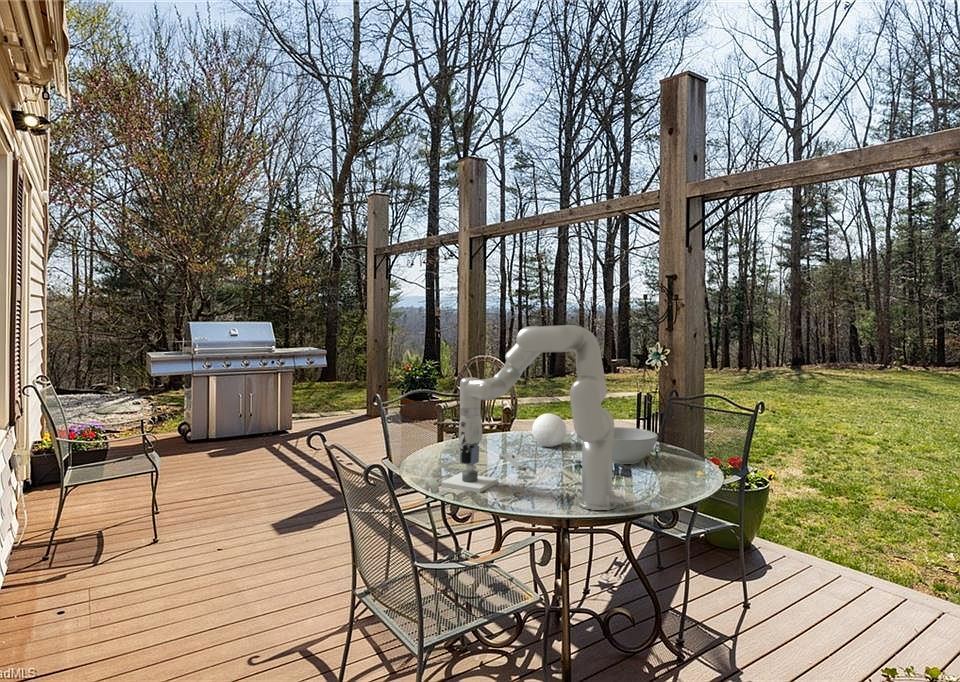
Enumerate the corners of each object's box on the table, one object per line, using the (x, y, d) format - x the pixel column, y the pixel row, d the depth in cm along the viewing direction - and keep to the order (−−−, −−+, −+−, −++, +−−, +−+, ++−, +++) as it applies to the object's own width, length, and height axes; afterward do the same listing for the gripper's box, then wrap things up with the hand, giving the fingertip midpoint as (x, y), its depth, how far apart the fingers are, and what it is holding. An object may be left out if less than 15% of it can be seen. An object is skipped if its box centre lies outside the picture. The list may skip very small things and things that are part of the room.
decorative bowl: (580, 460, 234) (580, 432, 234) (616, 450, 252) (616, 424, 252) (634, 473, 214) (634, 442, 214) (669, 461, 232) (670, 433, 232)
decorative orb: (530, 450, 251) (531, 416, 251) (524, 442, 269) (524, 410, 268) (573, 450, 253) (573, 416, 252) (564, 441, 270) (564, 409, 270)
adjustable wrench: (525, 471, 218) (525, 467, 218) (509, 472, 217) (509, 467, 217) (511, 455, 243) (511, 451, 243) (497, 456, 242) (497, 452, 242)
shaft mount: (498, 482, 201) (498, 456, 201) (479, 492, 189) (479, 465, 188) (460, 476, 209) (460, 451, 208) (441, 486, 196) (441, 459, 196)
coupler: (478, 461, 199) (479, 443, 199) (472, 465, 195) (472, 446, 195) (467, 460, 202) (467, 441, 202) (460, 463, 197) (460, 444, 197)
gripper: (467, 416, 188) (466, 468, 189) (490, 409, 203) (489, 457, 204) (448, 414, 192) (448, 465, 193) (472, 407, 207) (472, 455, 208)
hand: (469, 460), depth 198 cm, fingers closed on coupler, 5 cm apart
